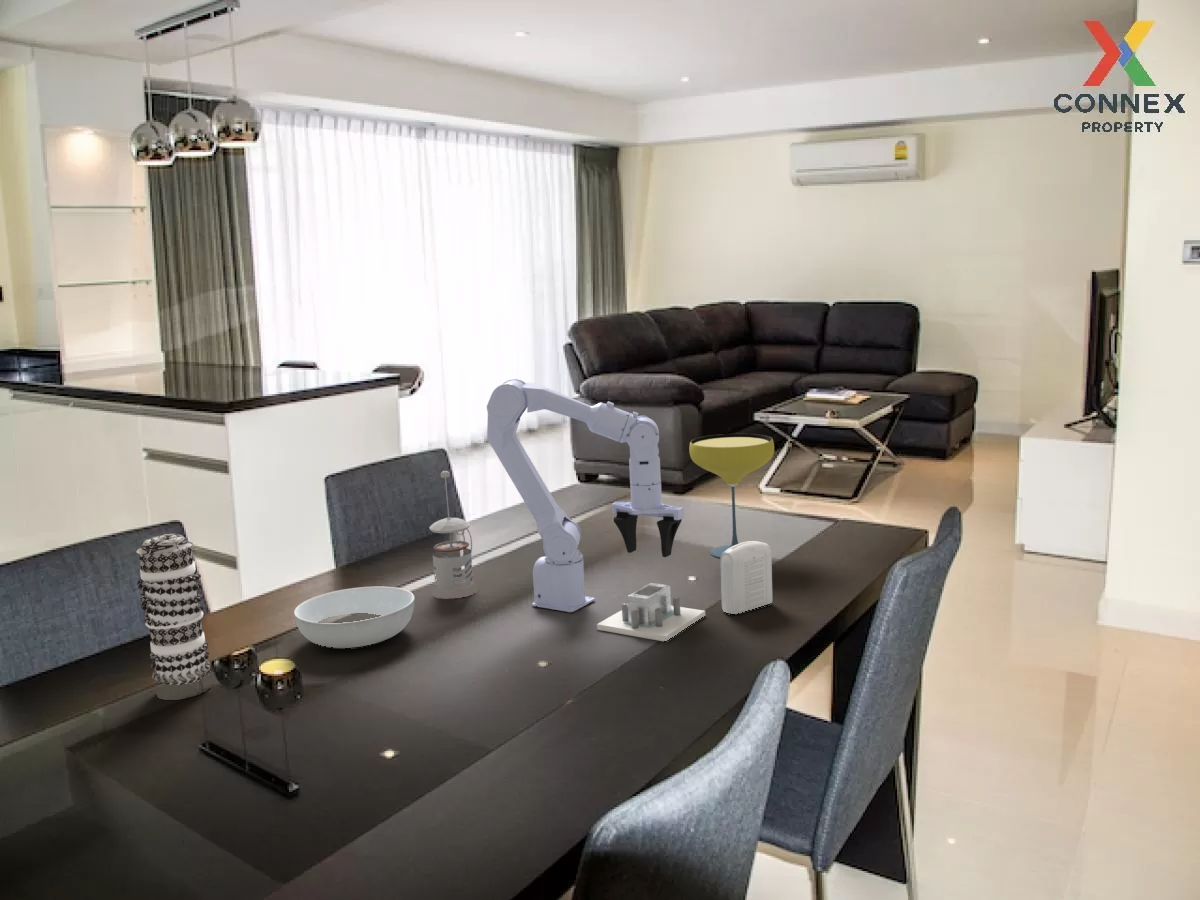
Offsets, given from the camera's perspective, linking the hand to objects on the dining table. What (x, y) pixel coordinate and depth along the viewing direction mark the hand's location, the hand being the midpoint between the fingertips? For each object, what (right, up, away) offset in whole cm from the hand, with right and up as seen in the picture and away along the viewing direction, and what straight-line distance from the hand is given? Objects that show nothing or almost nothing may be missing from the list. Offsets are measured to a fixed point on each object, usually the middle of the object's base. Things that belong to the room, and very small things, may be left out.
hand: (649, 553), depth 184 cm
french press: (-38, -9, +16) cm, 42 cm away
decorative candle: (-75, -19, -28) cm, 83 cm away
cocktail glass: (+20, -3, +31) cm, 37 cm away
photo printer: (+18, -10, -5) cm, 21 cm away
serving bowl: (-52, -15, -9) cm, 55 cm away
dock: (0, -11, -10) cm, 15 cm away
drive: (0, -10, -10) cm, 15 cm away
